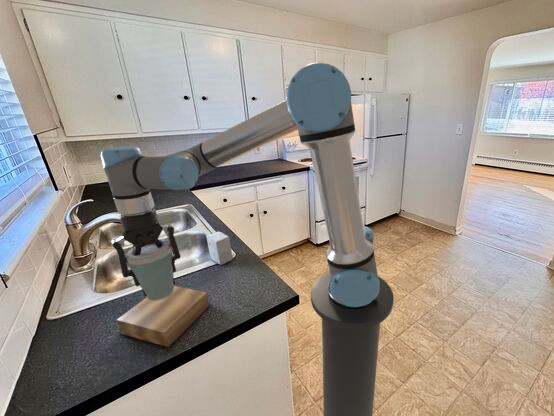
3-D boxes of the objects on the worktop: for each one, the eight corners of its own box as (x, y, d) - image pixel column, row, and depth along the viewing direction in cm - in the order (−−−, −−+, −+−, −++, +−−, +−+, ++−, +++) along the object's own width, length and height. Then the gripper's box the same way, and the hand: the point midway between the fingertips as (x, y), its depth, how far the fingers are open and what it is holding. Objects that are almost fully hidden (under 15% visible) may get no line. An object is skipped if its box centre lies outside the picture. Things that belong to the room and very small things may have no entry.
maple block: (209, 305, 83) (206, 292, 82) (168, 347, 69) (164, 332, 67) (168, 296, 88) (164, 283, 86) (121, 334, 73) (116, 319, 72)
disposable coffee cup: (139, 312, 68) (122, 262, 63) (137, 290, 76) (122, 244, 71) (185, 295, 74) (173, 248, 68) (178, 276, 82) (167, 233, 77)
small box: (233, 259, 108) (229, 236, 104) (220, 265, 104) (215, 241, 100) (223, 253, 113) (219, 230, 109) (210, 258, 109) (205, 235, 105)
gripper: (174, 198, 75) (190, 268, 83) (86, 217, 62) (115, 297, 71) (183, 205, 69) (199, 279, 78) (89, 227, 57) (120, 312, 66)
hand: (159, 287), depth 74 cm, fingers open, 6 cm apart
